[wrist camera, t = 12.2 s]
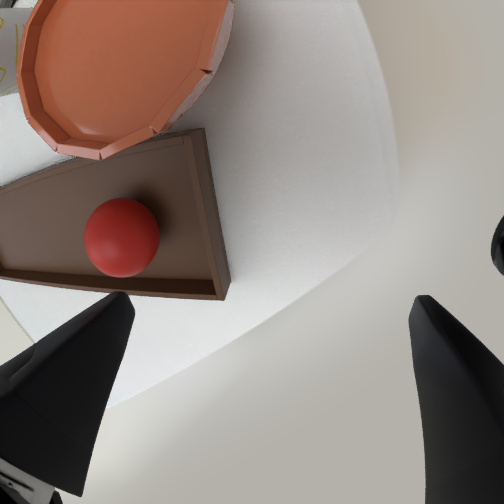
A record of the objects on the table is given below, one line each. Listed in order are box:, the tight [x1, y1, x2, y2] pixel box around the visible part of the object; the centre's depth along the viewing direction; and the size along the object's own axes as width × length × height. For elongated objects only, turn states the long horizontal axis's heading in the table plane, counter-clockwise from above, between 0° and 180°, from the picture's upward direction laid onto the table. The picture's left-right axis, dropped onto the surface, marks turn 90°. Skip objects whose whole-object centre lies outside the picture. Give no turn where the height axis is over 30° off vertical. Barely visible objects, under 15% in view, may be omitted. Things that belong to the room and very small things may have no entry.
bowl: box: [16, 0, 235, 161], centre depth 11 cm, size 13×13×8 cm
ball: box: [84, 198, 160, 278], centre depth 19 cm, size 6×6×6 cm
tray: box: [0, 128, 231, 301], centre depth 24 cm, size 40×13×3 cm, turn 96°
